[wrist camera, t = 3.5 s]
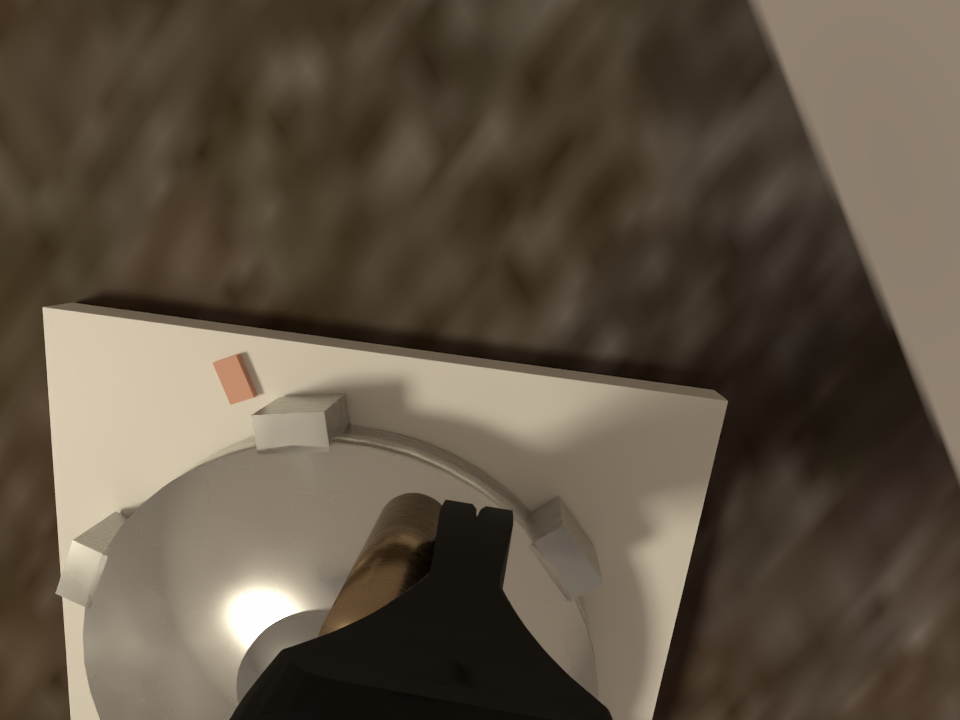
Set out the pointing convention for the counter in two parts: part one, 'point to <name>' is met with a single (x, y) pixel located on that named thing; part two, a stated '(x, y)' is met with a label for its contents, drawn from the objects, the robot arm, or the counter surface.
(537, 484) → the cap plate
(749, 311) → the counter surface
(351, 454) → the tabbed shallow bowl
